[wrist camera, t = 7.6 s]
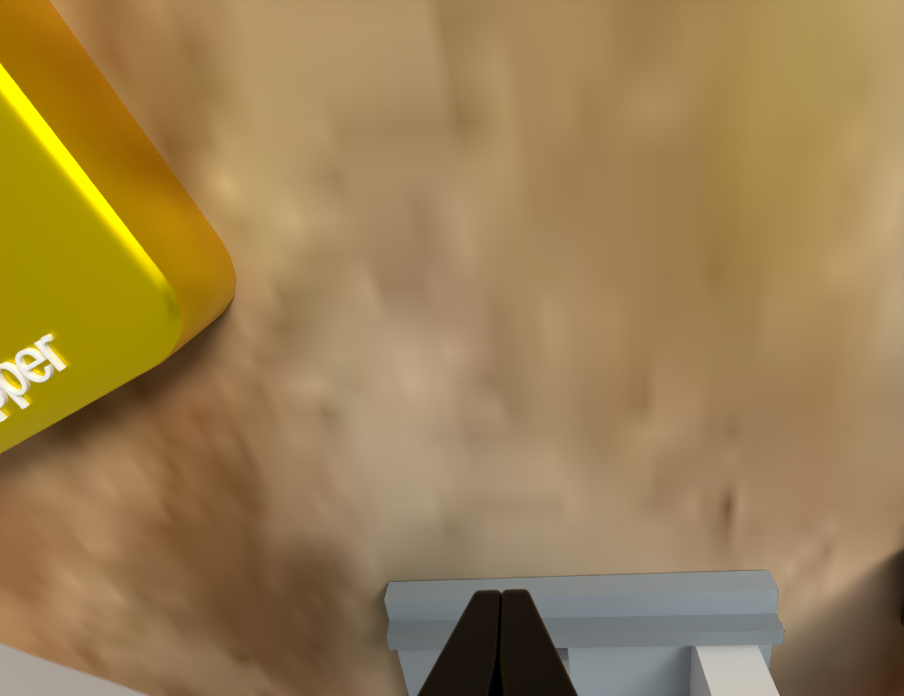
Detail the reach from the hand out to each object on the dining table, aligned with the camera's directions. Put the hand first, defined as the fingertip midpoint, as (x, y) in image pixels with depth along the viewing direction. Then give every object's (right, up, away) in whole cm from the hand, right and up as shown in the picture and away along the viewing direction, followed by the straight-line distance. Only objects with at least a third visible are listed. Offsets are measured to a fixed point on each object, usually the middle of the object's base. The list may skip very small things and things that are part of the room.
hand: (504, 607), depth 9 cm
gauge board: (+5, -11, +18) cm, 22 cm away
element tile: (-18, +9, +12) cm, 23 cm away
